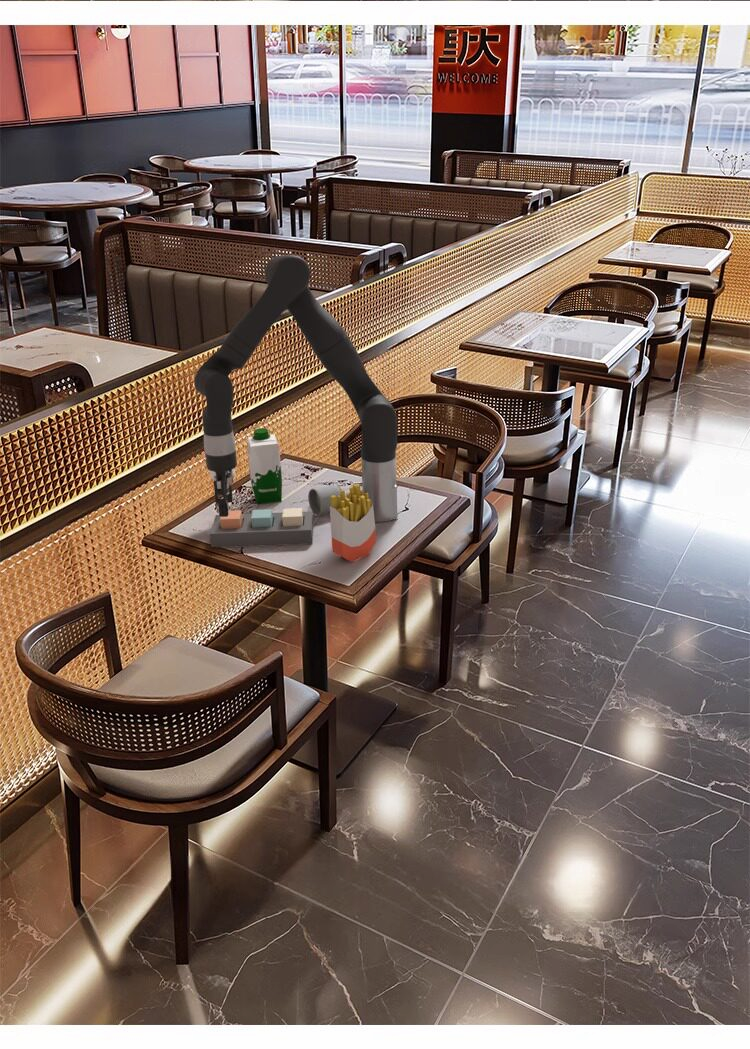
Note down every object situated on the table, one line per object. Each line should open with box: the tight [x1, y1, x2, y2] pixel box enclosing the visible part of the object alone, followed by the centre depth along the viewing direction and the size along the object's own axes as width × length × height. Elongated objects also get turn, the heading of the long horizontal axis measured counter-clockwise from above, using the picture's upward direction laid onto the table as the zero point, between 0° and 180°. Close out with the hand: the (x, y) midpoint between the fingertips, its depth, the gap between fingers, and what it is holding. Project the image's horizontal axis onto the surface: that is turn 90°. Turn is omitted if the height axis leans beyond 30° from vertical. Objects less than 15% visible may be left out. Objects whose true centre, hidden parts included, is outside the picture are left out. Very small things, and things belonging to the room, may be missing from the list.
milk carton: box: [247, 427, 283, 505], centre depth 244 cm, size 9×9×20 cm
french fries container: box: [329, 483, 377, 563], centre depth 211 cm, size 5×11×18 cm, turn 133°
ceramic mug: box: [307, 484, 343, 517], centre depth 239 cm, size 11×8×8 cm
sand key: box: [282, 507, 304, 526], centre depth 224 cm, size 5×5×3 cm
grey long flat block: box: [209, 510, 315, 548], centre depth 226 cm, size 26×11×4 cm, turn 92°
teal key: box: [251, 508, 274, 528], centre depth 224 cm, size 5×5×3 cm
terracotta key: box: [220, 509, 243, 529], centre depth 224 cm, size 5×5×3 cm
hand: (226, 508), depth 218 cm, fingers open, 8 cm apart
